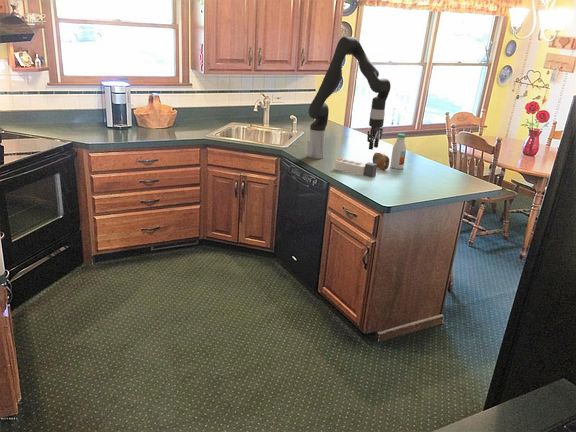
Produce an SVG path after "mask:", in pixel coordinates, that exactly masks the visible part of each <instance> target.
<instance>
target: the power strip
mask: <svg viewBox="0 0 576 432" xmlns="http://www.w3.org/2000/svg"><path fill="white" fill-rule="evenodd" d="M365 164H366V163H363V162H358V161H354V160H350V159H346V158H341V157H340V158H337V159H336V160H335V161H334V170H335V171H340V172H345V173H349V174H354V175H358V176H362V177H363V176H365V175H364V172H365Z"/></svg>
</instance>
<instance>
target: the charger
mask: <svg viewBox="0 0 576 432" xmlns="http://www.w3.org/2000/svg"><path fill="white" fill-rule="evenodd" d="M364 164H365V172H364V175H363V176H365V177H370V178H373V177H375V176H377V169H378V168H377V164H375V163H373V162H367V163H364Z"/></svg>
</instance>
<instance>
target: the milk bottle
mask: <svg viewBox="0 0 576 432" xmlns="http://www.w3.org/2000/svg"><path fill="white" fill-rule="evenodd" d="M396 135H397V136H396V138H397V139H396V141H395V142H394V144H393V147H392V152H391V159H390V164H389V166H390V169H391V168H392V169H395V170H402V169H404V167H405V159H406V152H407V145H406V143H405V139H406V134H405V133H397V134H396Z"/></svg>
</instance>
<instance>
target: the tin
mask: <svg viewBox="0 0 576 432" xmlns="http://www.w3.org/2000/svg"><path fill="white" fill-rule="evenodd" d="M372 163H375V164H377V169H378V170H382V171H384V170H385V171H386V170H388V168H389V166H390V158H389V156H388V155H386V154H384V153H382V152H375V153H374V154H373V155H372Z"/></svg>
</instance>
